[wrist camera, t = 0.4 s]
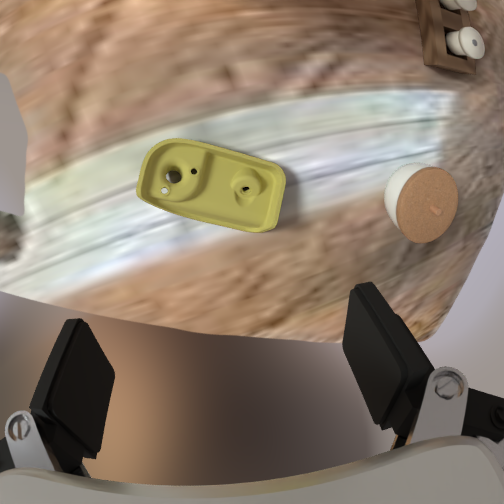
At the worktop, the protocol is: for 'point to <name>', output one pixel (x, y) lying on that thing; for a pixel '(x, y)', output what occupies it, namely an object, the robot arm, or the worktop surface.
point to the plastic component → (213, 185)
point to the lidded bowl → (421, 201)
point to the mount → (442, 36)
